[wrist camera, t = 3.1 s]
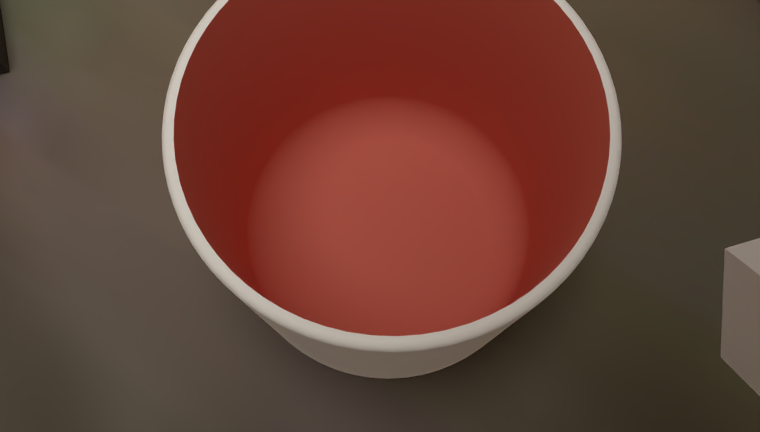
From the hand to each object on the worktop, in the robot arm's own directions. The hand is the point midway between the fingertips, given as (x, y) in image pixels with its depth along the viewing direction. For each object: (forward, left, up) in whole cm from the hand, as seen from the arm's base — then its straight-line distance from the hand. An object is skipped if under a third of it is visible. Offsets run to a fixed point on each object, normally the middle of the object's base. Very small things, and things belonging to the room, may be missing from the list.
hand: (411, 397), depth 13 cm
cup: (-1, -6, -10) cm, 12 cm away
